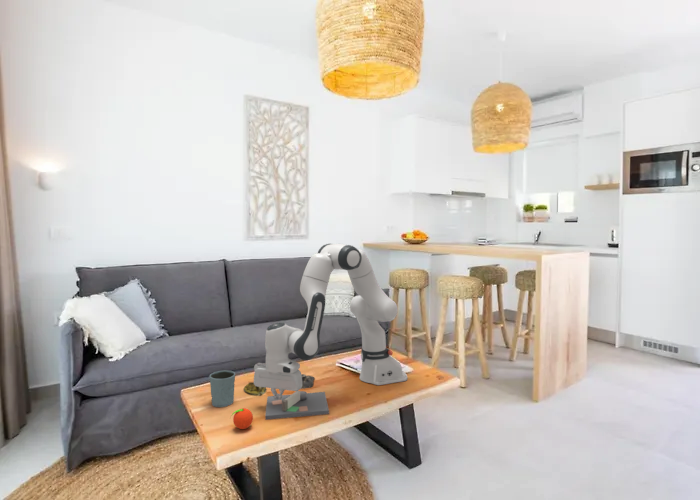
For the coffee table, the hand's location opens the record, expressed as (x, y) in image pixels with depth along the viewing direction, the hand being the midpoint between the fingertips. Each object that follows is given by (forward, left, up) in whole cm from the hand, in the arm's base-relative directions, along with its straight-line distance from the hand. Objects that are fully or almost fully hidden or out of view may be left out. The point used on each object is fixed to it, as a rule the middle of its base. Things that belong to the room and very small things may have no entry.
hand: (278, 398), depth 162 cm
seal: (+11, -22, -5) cm, 25 cm away
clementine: (+13, +14, -4) cm, 19 cm away
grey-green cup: (+23, -10, -4) cm, 25 cm away
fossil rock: (-8, -25, -5) cm, 27 cm away
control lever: (-6, 0, -2) cm, 7 cm away
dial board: (-7, 0, -4) cm, 8 cm away
